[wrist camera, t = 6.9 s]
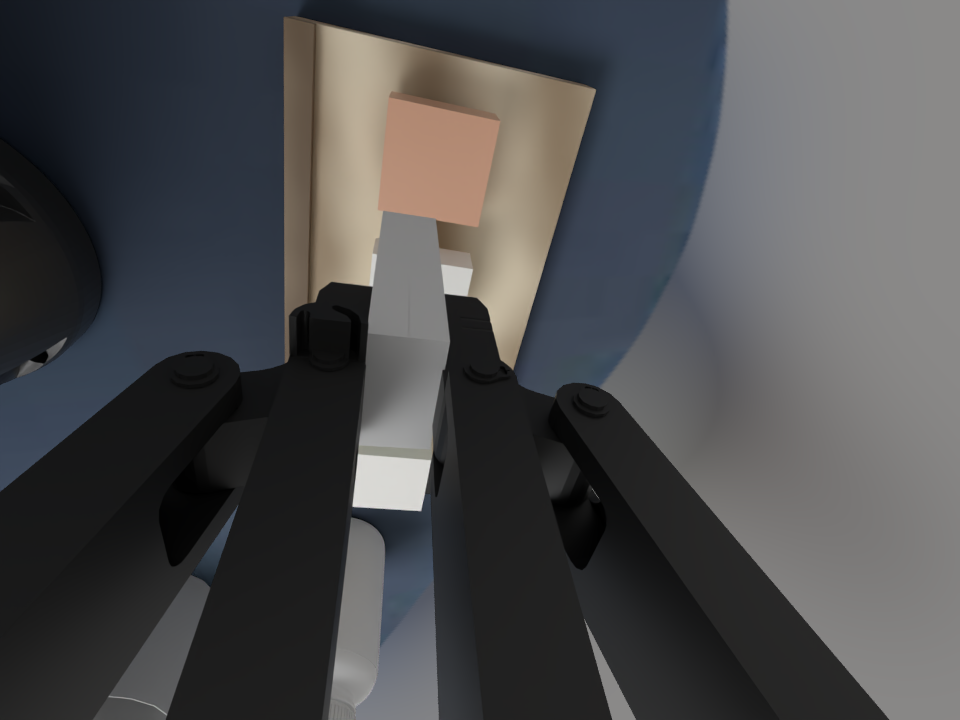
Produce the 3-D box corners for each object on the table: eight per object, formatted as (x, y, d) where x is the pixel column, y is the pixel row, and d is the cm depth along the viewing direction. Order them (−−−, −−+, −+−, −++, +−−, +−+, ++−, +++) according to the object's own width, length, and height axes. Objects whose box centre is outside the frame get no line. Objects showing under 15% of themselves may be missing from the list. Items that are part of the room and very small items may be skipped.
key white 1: (351, 483, 35) (347, 506, 33) (356, 431, 32) (352, 453, 31) (420, 488, 36) (420, 511, 34) (431, 438, 33) (431, 460, 32)
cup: (234, 595, 47) (194, 717, 39) (179, 629, 50) (131, 752, 41) (150, 555, 43) (85, 684, 35) (94, 596, 45) (22, 724, 37)
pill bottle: (401, 554, 46) (393, 752, 34) (322, 578, 47) (286, 780, 35) (360, 501, 42) (333, 707, 29) (273, 529, 43) (212, 740, 30)
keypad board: (293, 457, 38) (285, 483, 36) (296, 16, 23) (283, 16, 21) (475, 471, 41) (478, 496, 39) (585, 84, 26) (599, 91, 24)
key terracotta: (380, 197, 25) (377, 210, 24) (391, 90, 23) (388, 97, 21) (474, 214, 26) (478, 227, 25) (495, 113, 24) (500, 121, 22)
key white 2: (367, 320, 28) (363, 340, 26) (375, 237, 25) (372, 253, 24) (453, 331, 29) (455, 351, 27) (469, 253, 26) (472, 269, 25)
